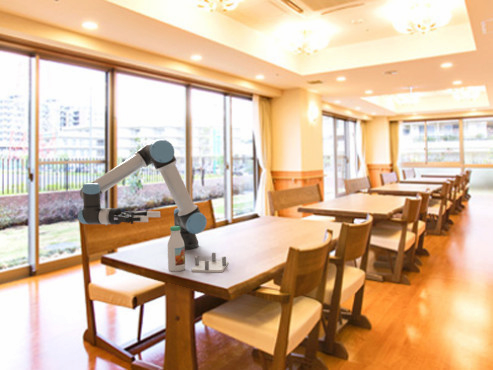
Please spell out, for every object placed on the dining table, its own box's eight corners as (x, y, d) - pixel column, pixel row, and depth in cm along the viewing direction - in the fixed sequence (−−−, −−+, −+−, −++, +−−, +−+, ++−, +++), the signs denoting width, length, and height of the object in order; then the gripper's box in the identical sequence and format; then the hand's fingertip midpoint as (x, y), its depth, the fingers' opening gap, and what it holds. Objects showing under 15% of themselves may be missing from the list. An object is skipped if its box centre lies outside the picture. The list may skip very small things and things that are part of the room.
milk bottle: (169, 272, 157) (167, 228, 156) (167, 267, 165) (166, 225, 163) (186, 270, 159) (184, 227, 158) (184, 266, 167) (182, 224, 165)
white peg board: (199, 262, 172) (199, 252, 172) (229, 262, 170) (229, 252, 169) (190, 271, 157) (190, 261, 157) (222, 272, 155) (222, 261, 155)
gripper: (124, 219, 177) (164, 220, 174) (96, 229, 153) (142, 229, 150) (124, 205, 177) (164, 205, 174) (96, 212, 152) (142, 212, 149)
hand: (154, 216), depth 162 cm, fingers open, 13 cm apart
